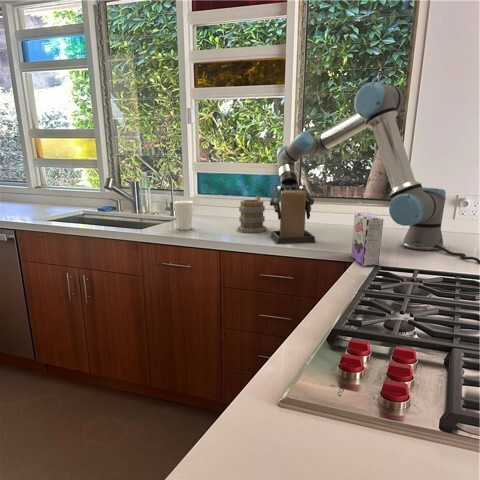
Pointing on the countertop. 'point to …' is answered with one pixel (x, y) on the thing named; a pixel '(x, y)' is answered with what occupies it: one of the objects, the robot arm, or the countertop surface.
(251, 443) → the countertop surface
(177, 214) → the foam cup
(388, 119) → the robot arm
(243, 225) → the tankard
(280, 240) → the dark grey square tray
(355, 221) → the candy box
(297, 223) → the block
